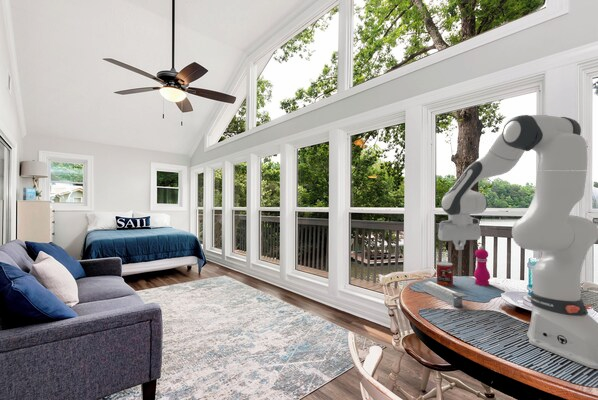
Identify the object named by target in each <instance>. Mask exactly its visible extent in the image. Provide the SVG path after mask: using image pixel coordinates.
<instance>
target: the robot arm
mask: <svg viewBox="0 0 598 400" xmlns="http://www.w3.org/2000/svg"><path fill="white" fill-rule="evenodd" d="M581 133H582V128H581V125H580V123H579V122H578V121H577V120H575V119H573V118H570V117H566V116H556V115H555V116H553V115H547V114H532V115H529V114H523V115H522V114H521V115H518V116H514V117H511V118H509V120H508V121H507V122H506V123H505V124H504V126H503V127H502V128H501V129H500V131H498V133H497V134H496V135H495V137H494V138H492V139H493V140H491V142H490V144H489V146H488V147H487V149H486V150H485V152H484V153H483V154H481V156H479V157H478V158H477V159H476V160H475V161H473V162H472V163H471V164H469V165H468V167H467V168H466V169H465V170H464V171H463V172H462V174H461V175H460V177H459V178H458V179H457V180H456V182H455V183H454V184H453V186H452V187H450V188H449V190H448V191H447V192H445V194H444V195H443V196H442V198H441V200H440V205H441V209H442V210H443V211H444V212H445V213H446V214H447V216H448V219H447V220H442V221H440V222H439V224H438V231H437V232H438V233H437V238H438V240H439V241H442V242H443V241H444V242H445V241H446V242H450V241H452V243H453V245H454V247H455V250H456V251H461V250H462V251H464V249H465V247H464V246H465V245H466V242H467V241H472V240H474V241H475V240H476V241H477V240H480V239H481V238H482V237H481V236H482V231H481V226H480V223H481V222H480V221H481V220H480V219H478V218H475V217H472V216H471V215H472V214H473V215H477V214H482V213H484V212H485V211H486V209H487V208H488V198H487V196H486V195H485V194H484V193H482V192H478V191H476V190H472V188H473V187H474V186H475V184H477V183H478V182H480V181H482V180H485V179H488V178H492V177H496V176H500V175H501V176H502V175H504V174H506V173H509V172H510V171H511V170H512V169H513V168H514V167H515V166H516V165H517V164H518V162H519V161H520V159H521V158H522V156H523V154H524V153H525V152H530V151H531V150H533V151H535V152H536V153H537V156H538V164H537V173H536V180H535V181H536V182H535V189H534V194H533V197H532V199H531V202H530V204H529V206H528V208H527V210H526V212H525V213H524V214H523V215H522V216H521V218H519V219H517V221H515V223H513V225H512V228H511V236H512V239H513V241H514V242H515V244H516V245H517V246H519V247H520V248H521V249H524V250H528V251H533V252H538V253H540V252H542V254H541V256H540V259H539V260H537V262H536V263H535V264H534V265H533V266H532V269H531V276H532V277H531V279H532V280H531V282H532V290H531V292H530V303H531V304H532V305H531V306H532V309H531V317H530V323H529V327H528V330H527V332H526V335H527V338H528V343H529V344H530V345H534V346H536V347H538V348H540V349H543V350H545V351H547V352H550V353H552V354H555V355H558V356H560V357H562V358H565V359H567V360H570V361H572V362H575V363H578V364H580V365H582V366H585V367H587V368H591V369H596V370H598V322H597V321H596V320H595V319H594V318H593V317H592V316H591V315H589V311H588V310H592V308H593V307H592V305H591V304H586V305H585V303H584V300H583V299H582V298H581V275H582V270H583V269H582V268H583V265H584V262H585V260H586V257H587V254H588V252H589V250H590V248H591V247H592V246H593V245H594V244H595V243H597V241H598V225H596V224H595V222H593V220H590V219H588V218H586V217H581V216H579V215H573V214H571V212H572V210H573V208H574V207H575V206H576V205H577V204H578V203H579V202H580V201H581V200H582V199H583V197H584V195H585V189H586V180H587V179H586V178H587V173H588V172H587V170H588V148H587V142H586V140H585V138H584V137H583V136H581ZM459 243H460V244H459ZM591 307H592V308H591Z"/></svg>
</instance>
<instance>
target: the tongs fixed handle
mask: <svg viewBox="0 0 598 400" xmlns="http://www.w3.org/2000/svg"><path fill="white" fill-rule="evenodd" d="M422 286H423V289H422V290H423V292H425V293H427V294H429V295H431V296H433V297H435V298H437V299H439V300H441V301H443V302H445V303H448V304H449V305H452V306H453V307H454V308H457V309H463V297H460V298H459V297H456V296H454V295H452V293H450V292H448V291H445V290H443V289H441V288H439V287H436V286H434V285H432V284H429V283H427V282H423V285H422Z"/></svg>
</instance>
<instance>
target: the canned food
mask: <svg viewBox="0 0 598 400" xmlns="http://www.w3.org/2000/svg"><path fill="white" fill-rule="evenodd" d="M453 264H454V263H452V262H447V261H439V262H438V261H437V262H436V284H438V285H440V286H443V287H451V286H453V284H454V265H453Z"/></svg>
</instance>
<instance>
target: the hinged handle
mask: <svg viewBox="0 0 598 400" xmlns="http://www.w3.org/2000/svg"><path fill="white" fill-rule="evenodd" d="M426 283H429V284H432V285H434V286H436V287H439V288H441V289H443V290H445V291H448V292H450V293H452V295H454V296H456V297H459V298H460V297H462V298H468V295H467V294H464V293H463V292H457V291H455V290H452V289H449V288H447V287H446V286H442V285H439V284H437V282H436V283H435V282H433V281H426Z"/></svg>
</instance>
